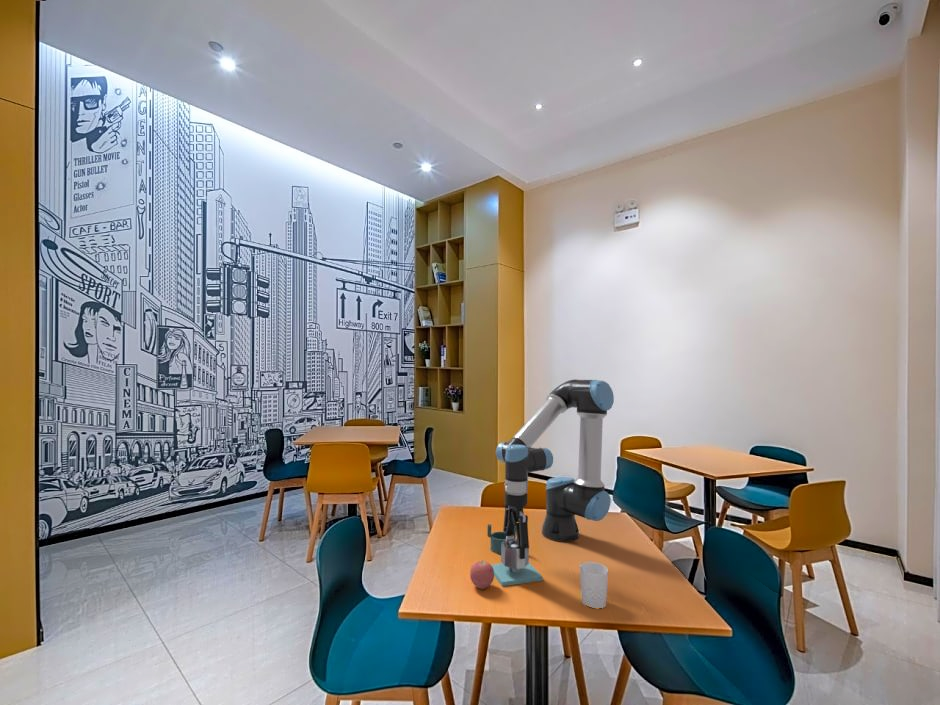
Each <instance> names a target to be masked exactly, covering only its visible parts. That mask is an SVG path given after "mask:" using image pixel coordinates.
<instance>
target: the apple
mask: <svg viewBox="0 0 940 705" xmlns="http://www.w3.org/2000/svg"><path fill="white" fill-rule="evenodd" d="M492 565H493V564H491V563H489V562H488V561H485V560H479V561H476V562H474V563H473V565H471V568H470V572H469V573H470V575H469V576H470V580H471V582H472V584H473V585H474V586H475V587H476V588H478V589H487V588H488V587H490V586H491V584H492V583H493V581H494V579H495V576H494V569H493V567H492Z"/></svg>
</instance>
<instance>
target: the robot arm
mask: <svg viewBox="0 0 940 705" xmlns="http://www.w3.org/2000/svg"><path fill="white" fill-rule="evenodd" d="M614 398H615V396H614V392H613V389H612V387H611V385H610V384H609V383H608V382H607V381H604V380H599V379H570V380H567V381H565V382H563V383H561V384H560V385H558V386H557V387H555V388H554V389H553V390H552V391H551V392H550V393H549V394H548V395H547V396H546V398H545V401H544V403H543V404H542V405H541V406H540V407H539V408H538V409H537V411H536V412H535V413H534V414H533V415H532V416H531V417H530V418H529V419H528V420H527V421H526V423H524V425H523V426H522V427H521V428H520V429H519V430H518V431H517V432H516V434H514V436H513V437H512V438H510V440H509V441H505V442H504V441H502V442H500V443H499V444H498V445H497V446H496V450H495V456H496V459H497V460H498V461H499V462H502V463H504V466H505V468H504V469H505V470H504V471H505V472H504V473H505V474H504V476H505V478H504V479H505V482H504V483H503V485H504V490H505V492H504V518H503V529H502V532H505V535H506V539H514V536H512V535H515V533H514V528H516V539H517V542H518V547H516V549H517V562H516V568H517V569H521V568H525V548H529V549H530V542H529V541H530V540H529V526H528V522H529V518H528V517H529V516H528V515H525V514H524V507H526V506H527V505H528V490H529V489H528V488H529V479H528V476H529V473H533V472H538V471H539V472H540V471H544V470H548V469H550V468H551V467H553V465H554V455H553V453H552V451H551V450H550V449H548V448H546V447H538V448H535V447H533V445H534V444H535V443H536V442H537V440H538V439H539V438H541V436H542V435H543V434H544V433H545V431H547V429H548V428H549V427H550V426H551V425H552V424H553V423H554V422H555V421H556V420H557V418H558V417H559V416H560V415H561V414H564V413H566V412H567V410H568V409H572V408H576V414H577V415H579V418H580V420H579V421H580V422H579V442H578V446H579V447H578V448H579V449H578V471H577V472H578V474H577V478H576V479H575V478H573V477H570V476H567V477H566V476H565V477H564V476H561V477H558V476H557V477H552V478H549V479H547V481H546V486H545V495H546V496H545V497H546V498H545V503H546V506H545V509H546V510H545V512H546V514H545V516H544V520H543V523H542V527H541V535H542V536H544V538H547V539H550V540H551V541H557V542H573V541H576V540H578V539H579V538H580V531H579V526H578V524H577V520H576V517H575V516H579V517H581V518H584V519H586V520H589V521H590V520H591V521H594V522H599V521H602V520H603V519H604V518H605V517H606V516H607V514H608V513H609V511H610V508H611V502H612V501H611V496H610V494H609V493H608V492H607V491H605V484H604V482H603V481H602V475H601V473H602V452H603V451H602V448H603V447H602V446H603V423H604V422H603V420H604V418H605V417H606V416H607V415H608V411H610V410H611V409H612V408H613V405H614Z"/></svg>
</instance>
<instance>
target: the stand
mask: <svg viewBox="0 0 940 705" xmlns="http://www.w3.org/2000/svg"><path fill="white" fill-rule="evenodd" d="M511 547H518V544H512V545H511ZM491 565H492V567H493V569H494V578H495V579H496V580H497V581H498V582H499V584H500V585H501V586H502V587H507V586H512V585H520V584H526V583H534V582H540V581H543V579H544V578H543V575H542V574H541V573H540V572H539V571H538V570H537V569H536V568H535V567H534V566H533V565H532V564H531V563H530V562H529V564H528V565H527V566H526V567H525V568H521V569H514V568H510V567H506V566H504V565H503V563H502V562H501V563H496V564H495V563H494V564H491Z"/></svg>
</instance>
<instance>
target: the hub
mask: <svg viewBox="0 0 940 705" xmlns="http://www.w3.org/2000/svg"><path fill="white" fill-rule="evenodd" d="M512 544H518V542H517V538H515V539H506V540H504V541H503V542H502V543H501V554H500V562H501V564H502V563H503V565H504V566H506V567H510V568H514V569H517V568H516V562H517V549H516V547H511V545H512ZM529 554H530V547H529V548H525V567H526V566H527V565H528V564H529V563H530V560H529V558H530V557H529V556H530V555H529Z"/></svg>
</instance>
